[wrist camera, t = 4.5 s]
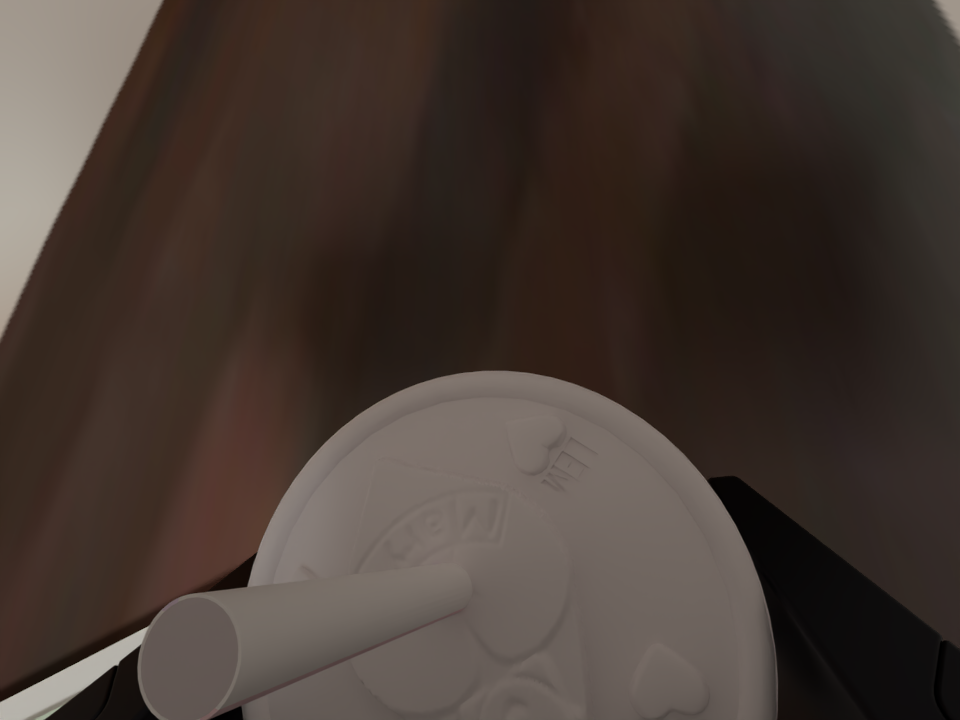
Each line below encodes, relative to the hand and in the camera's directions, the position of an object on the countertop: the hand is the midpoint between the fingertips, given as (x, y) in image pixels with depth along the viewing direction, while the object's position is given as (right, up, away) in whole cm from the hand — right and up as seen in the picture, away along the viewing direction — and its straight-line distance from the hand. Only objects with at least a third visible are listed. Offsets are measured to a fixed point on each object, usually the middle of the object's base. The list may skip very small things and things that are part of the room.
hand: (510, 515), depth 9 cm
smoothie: (+2, -4, +6) cm, 7 cm away
